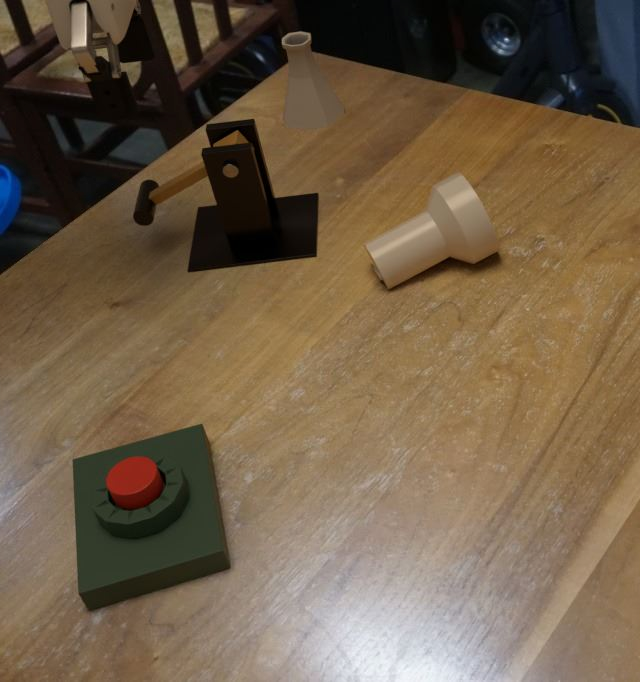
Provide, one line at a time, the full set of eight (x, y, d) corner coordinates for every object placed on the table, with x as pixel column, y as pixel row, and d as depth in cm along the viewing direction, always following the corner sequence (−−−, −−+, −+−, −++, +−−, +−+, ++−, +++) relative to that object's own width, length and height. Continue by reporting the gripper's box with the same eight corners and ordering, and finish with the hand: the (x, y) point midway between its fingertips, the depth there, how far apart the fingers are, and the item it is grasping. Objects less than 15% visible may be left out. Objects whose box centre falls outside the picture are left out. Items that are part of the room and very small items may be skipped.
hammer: (144, 231, 102) (126, 213, 100) (151, 200, 105) (133, 182, 104) (252, 170, 99) (234, 151, 97) (255, 140, 102) (238, 121, 101)
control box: (81, 477, 86) (63, 443, 83) (209, 441, 88) (196, 407, 85) (88, 611, 77) (69, 578, 74) (231, 568, 79) (217, 534, 76)
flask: (292, 103, 125) (273, 21, 118) (353, 104, 124) (338, 22, 117) (273, 138, 120) (252, 55, 113) (337, 139, 119) (320, 56, 112)
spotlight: (514, 261, 99) (484, 188, 95) (404, 322, 98) (368, 250, 93) (482, 227, 106) (452, 157, 101) (378, 284, 104) (343, 215, 100)
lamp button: (112, 479, 81) (104, 464, 80) (161, 465, 81) (154, 450, 80) (114, 516, 78) (107, 500, 77) (165, 501, 79) (158, 486, 78)
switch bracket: (190, 279, 103) (154, 175, 95) (201, 216, 110) (167, 114, 102) (318, 264, 103) (292, 158, 95) (320, 202, 111) (296, 99, 103)
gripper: (33, -148, 89) (102, 45, 101) (-19, -60, 76) (67, 148, 88) (126, -159, 89) (184, 35, 101) (89, -73, 77) (161, 137, 88)
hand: (129, 88), depth 94 cm, fingers open, 9 cm apart
